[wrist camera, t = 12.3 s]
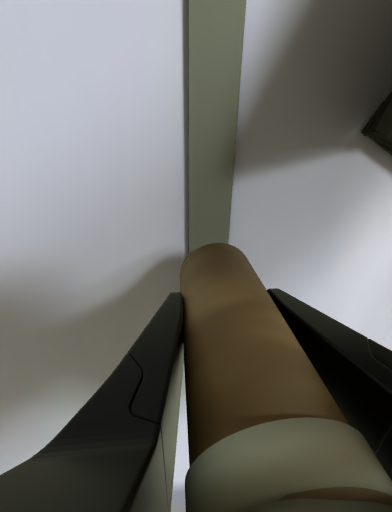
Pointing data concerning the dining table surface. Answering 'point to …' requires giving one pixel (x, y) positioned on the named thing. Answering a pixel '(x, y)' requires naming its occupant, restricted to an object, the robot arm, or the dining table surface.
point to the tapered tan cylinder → (262, 405)
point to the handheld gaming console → (381, 125)
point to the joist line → (213, 114)
